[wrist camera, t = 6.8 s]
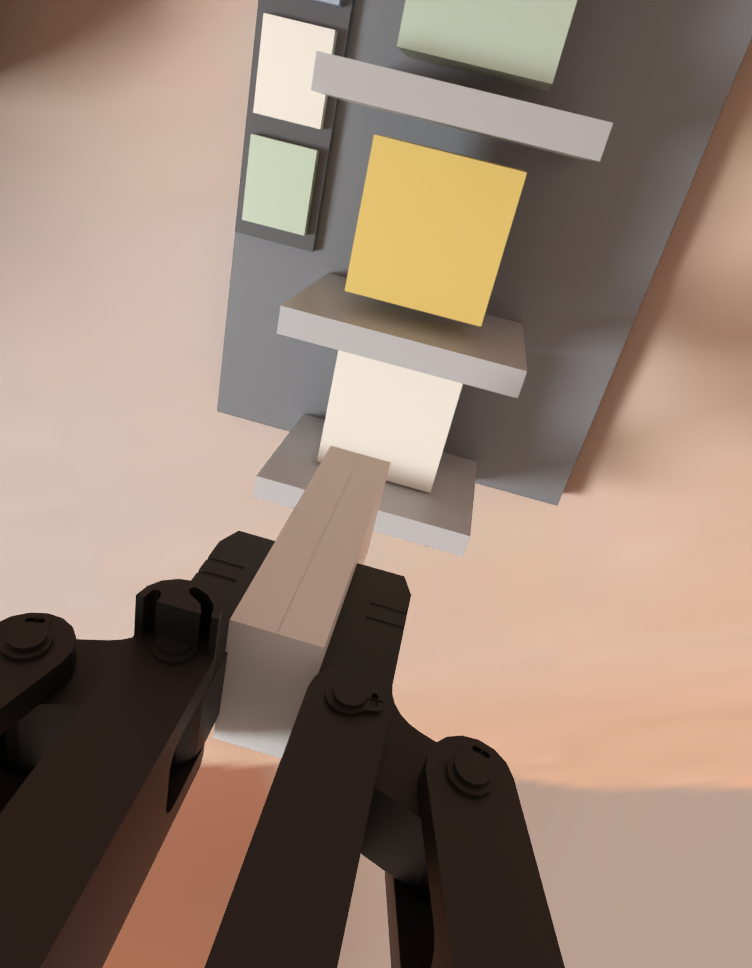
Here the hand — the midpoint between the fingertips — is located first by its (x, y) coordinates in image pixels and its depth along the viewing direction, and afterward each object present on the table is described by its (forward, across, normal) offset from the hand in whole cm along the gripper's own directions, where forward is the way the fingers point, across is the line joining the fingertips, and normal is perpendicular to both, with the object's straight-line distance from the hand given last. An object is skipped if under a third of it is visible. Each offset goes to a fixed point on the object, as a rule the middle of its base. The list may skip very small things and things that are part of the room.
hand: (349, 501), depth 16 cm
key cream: (+8, 0, 0) cm, 8 cm away
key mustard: (+7, 0, +6) cm, 9 cm away
